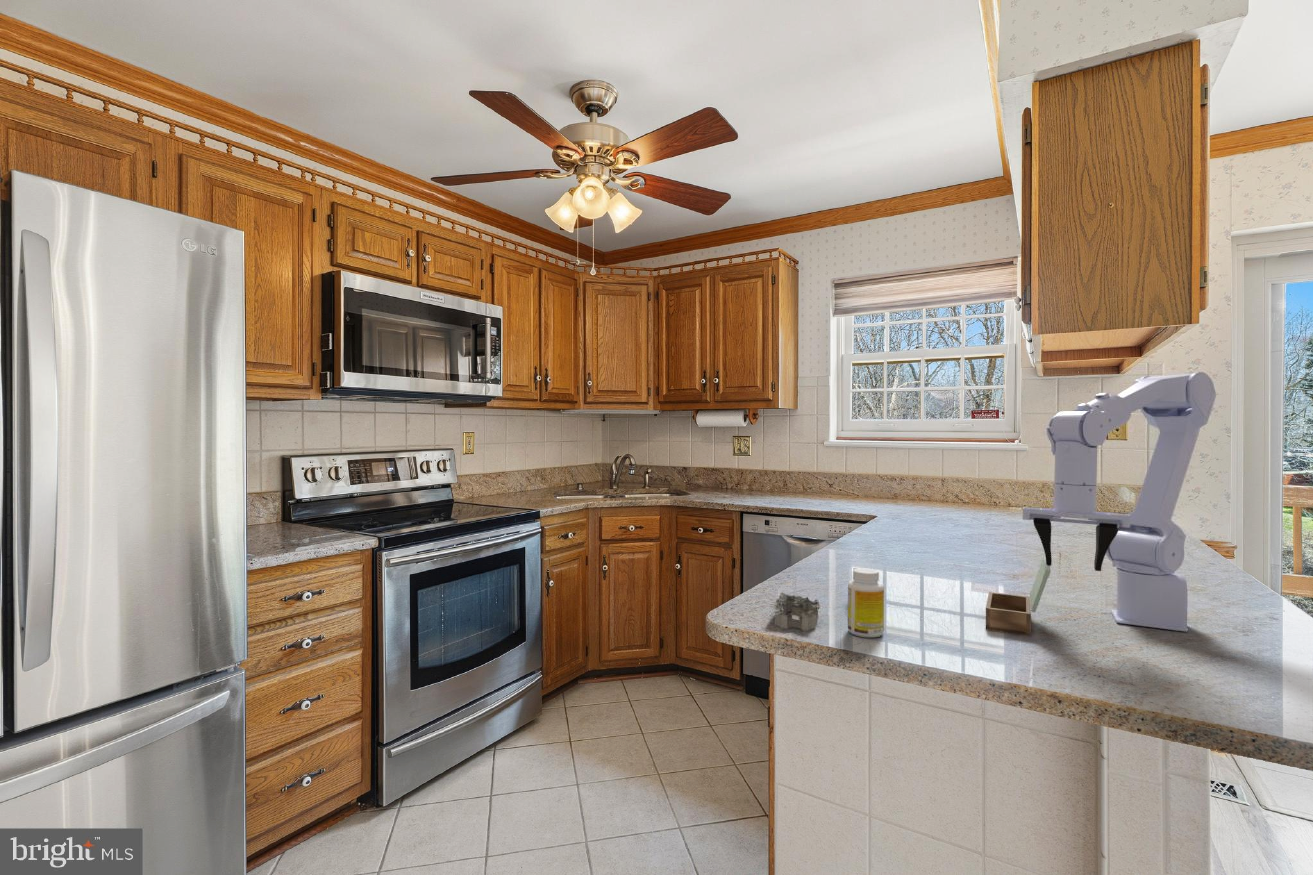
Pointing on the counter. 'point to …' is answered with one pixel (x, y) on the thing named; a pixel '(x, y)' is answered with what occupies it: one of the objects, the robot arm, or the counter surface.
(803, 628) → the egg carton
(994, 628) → the box
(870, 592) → the supplement bottle
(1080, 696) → the counter surface
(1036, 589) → the lid
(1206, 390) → the robot arm
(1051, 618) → the counter surface
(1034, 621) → the counter surface
